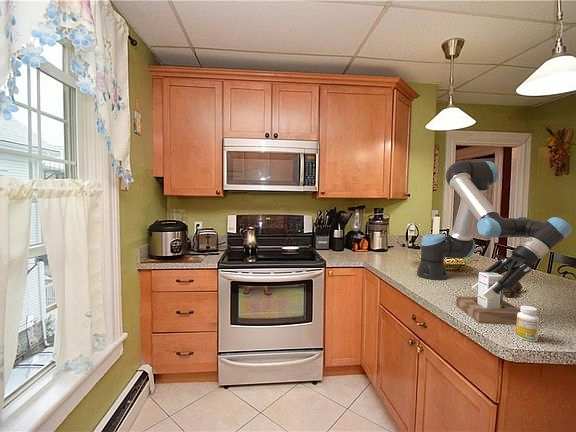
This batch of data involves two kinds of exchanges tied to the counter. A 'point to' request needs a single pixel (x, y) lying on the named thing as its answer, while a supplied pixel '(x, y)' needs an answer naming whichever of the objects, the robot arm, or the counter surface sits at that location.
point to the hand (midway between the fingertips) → (480, 293)
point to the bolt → (512, 290)
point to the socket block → (488, 311)
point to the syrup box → (484, 284)
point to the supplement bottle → (527, 324)
